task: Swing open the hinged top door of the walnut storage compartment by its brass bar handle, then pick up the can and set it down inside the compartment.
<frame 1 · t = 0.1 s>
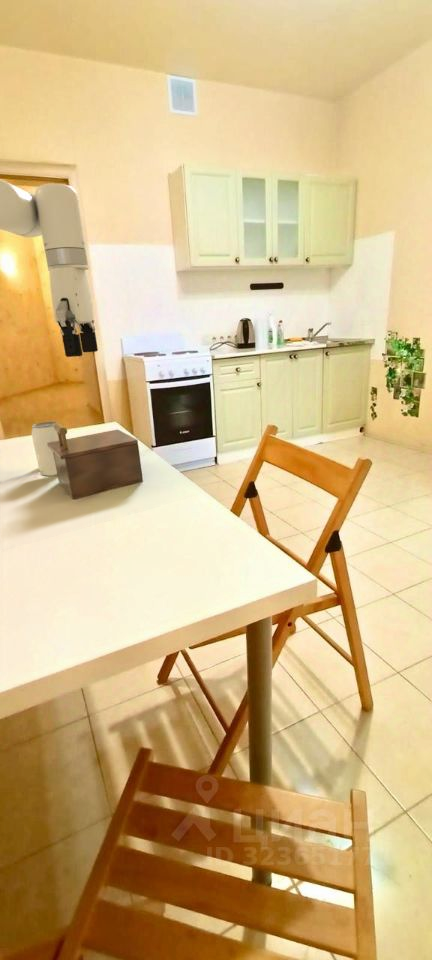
hand: (82, 353, 92), 28 cm above the table, tool pointing down, fingers open, 9 cm apart
lid: (90, 432, 97), point 12 cm above the table, hinge at 0.0°
can: (54, 472, 110), on the table
chest: (100, 482, 101), on the table
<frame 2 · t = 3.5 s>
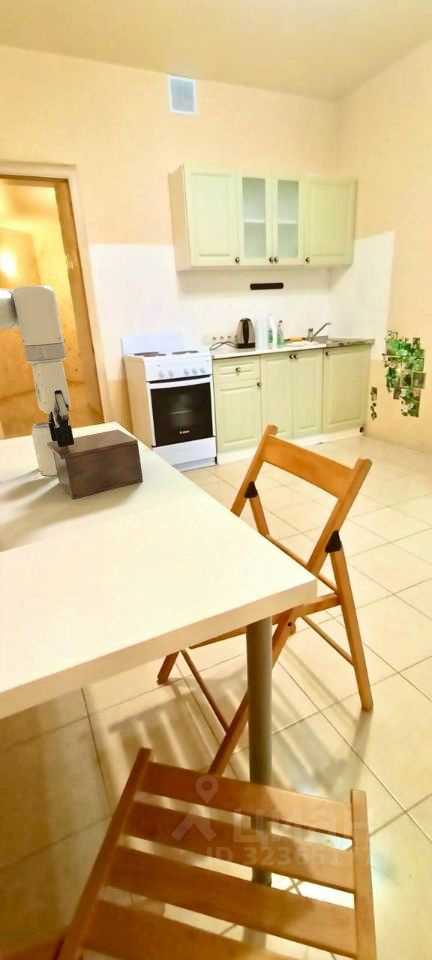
hand: (62, 441, 94), 11 cm above the table, tool pointing down, fingers closed on lid, 5 cm apart
lid: (90, 432, 97), point 12 cm above the table, hinge at 0.0°, touching gripper
everything else where it was.
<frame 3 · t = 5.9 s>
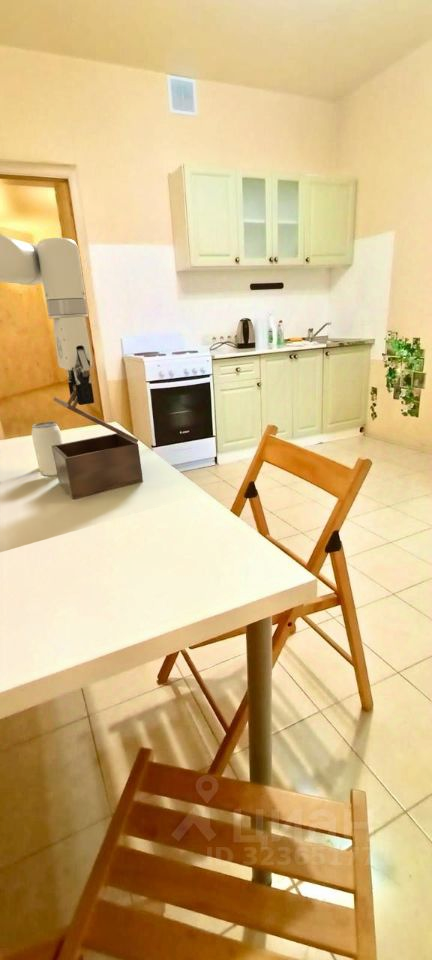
hand: (82, 401, 94), 19 cm above the table, tool pointing down, fingers closed on lid, 5 cm apart
lid: (100, 410, 97), point 16 cm above the table, hinge at 36.6°, touching gripper
everything else where it was.
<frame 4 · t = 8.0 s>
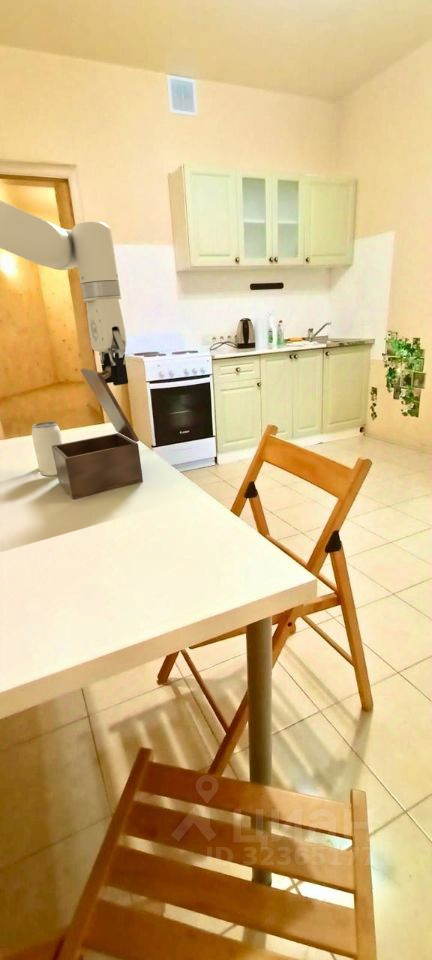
hand: (116, 382, 97), 21 cm above the table, tool pointing down, fingers closed on lid, 5 cm apart
lid: (118, 399, 98), point 18 cm above the table, hinge at 68.1°, touching gripper
everything else where it was.
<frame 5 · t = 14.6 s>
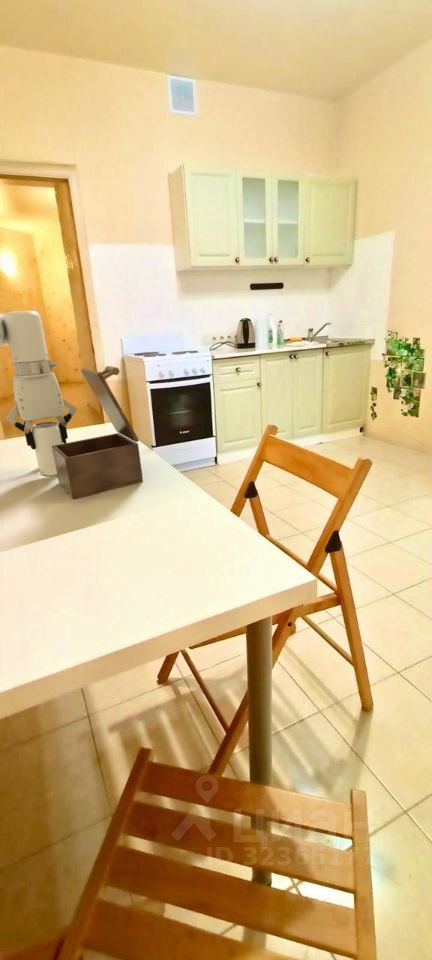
hand: (48, 444, 108), 7 cm above the table, tool pointing down, fingers closed on can, 6 cm apart
lid: (118, 399, 98), point 18 cm above the table, hinge at 68.2°
can: (54, 472, 110), on the table, touching gripper
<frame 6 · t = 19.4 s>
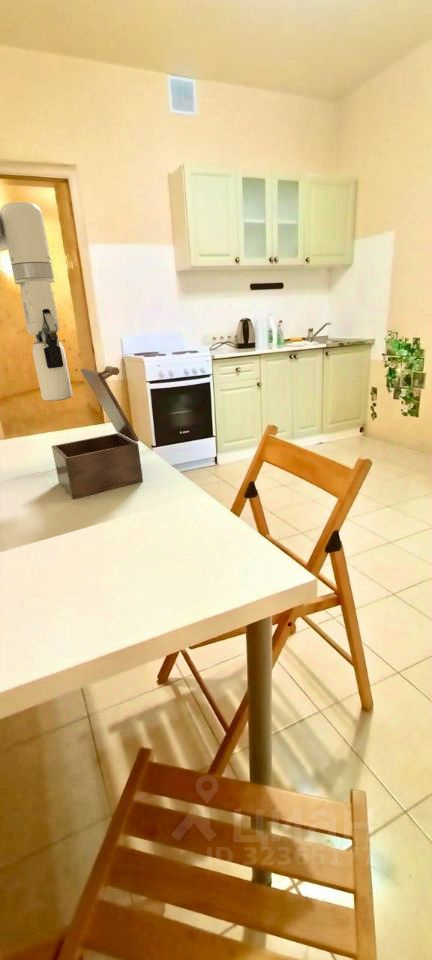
hand: (51, 365, 96), 26 cm above the table, tool pointing down, fingers closed on can, 6 cm apart
can: (58, 399, 98), point 19 cm above the table, touching gripper
everything else where it was.
when the fingers open (8 cm above the table, at t = 24.5 s): can stays where it is, resting on chest.
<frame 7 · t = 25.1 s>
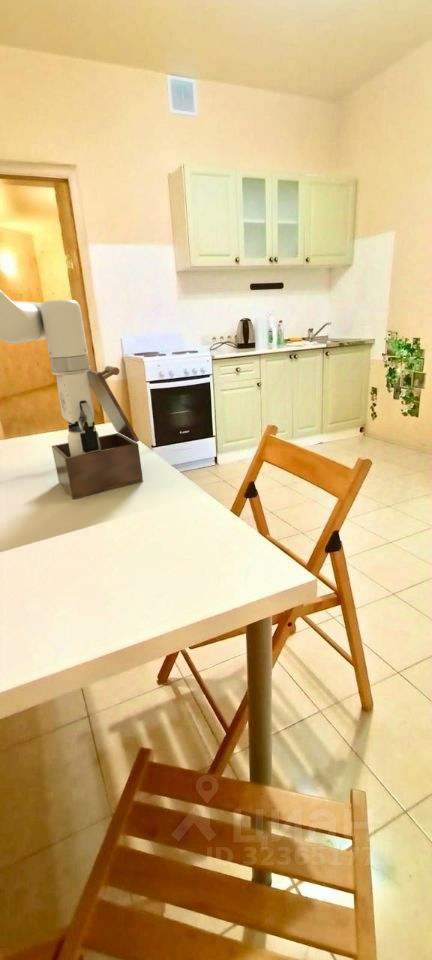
hand: (84, 446, 97), 9 cm above the table, tool pointing down, fingers open, 9 cm apart
can: (91, 481, 100), point 1 cm above the table, touching chest
everything else where it was.
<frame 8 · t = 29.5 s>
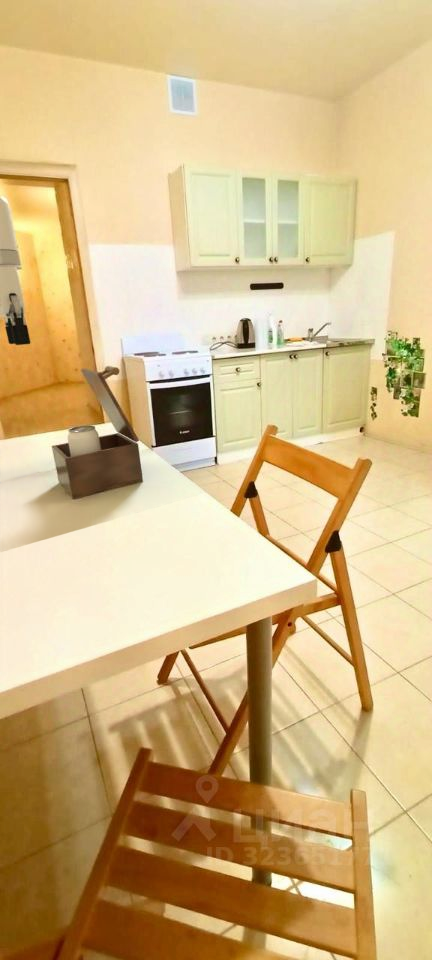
hand: (19, 343, 103), 30 cm above the table, tool pointing down, fingers open, 9 cm apart
nothing on the table moved.
at the end: lid at +68° (first picture: +0°); can inside the target area in the chest (2.0 cm from its centre), point 0.6 cm above the chest's base; can tilted 0° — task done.
